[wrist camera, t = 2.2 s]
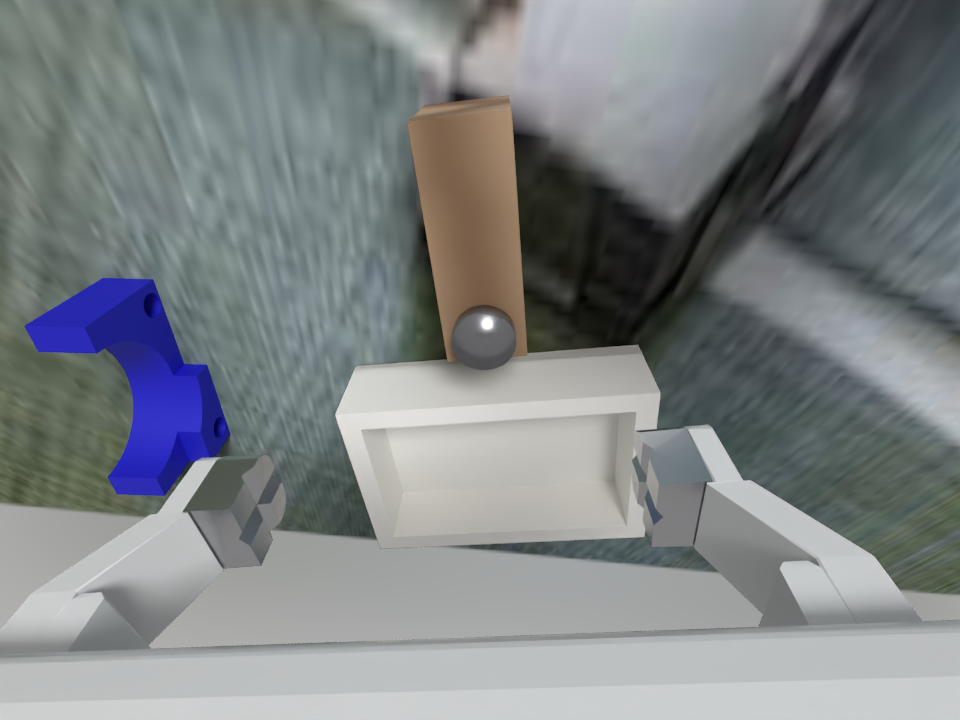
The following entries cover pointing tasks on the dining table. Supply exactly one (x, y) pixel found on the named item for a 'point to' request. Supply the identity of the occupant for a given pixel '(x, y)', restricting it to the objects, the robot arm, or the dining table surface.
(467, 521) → the bin
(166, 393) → the cable clip
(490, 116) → the strut
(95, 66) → the dining table surface
